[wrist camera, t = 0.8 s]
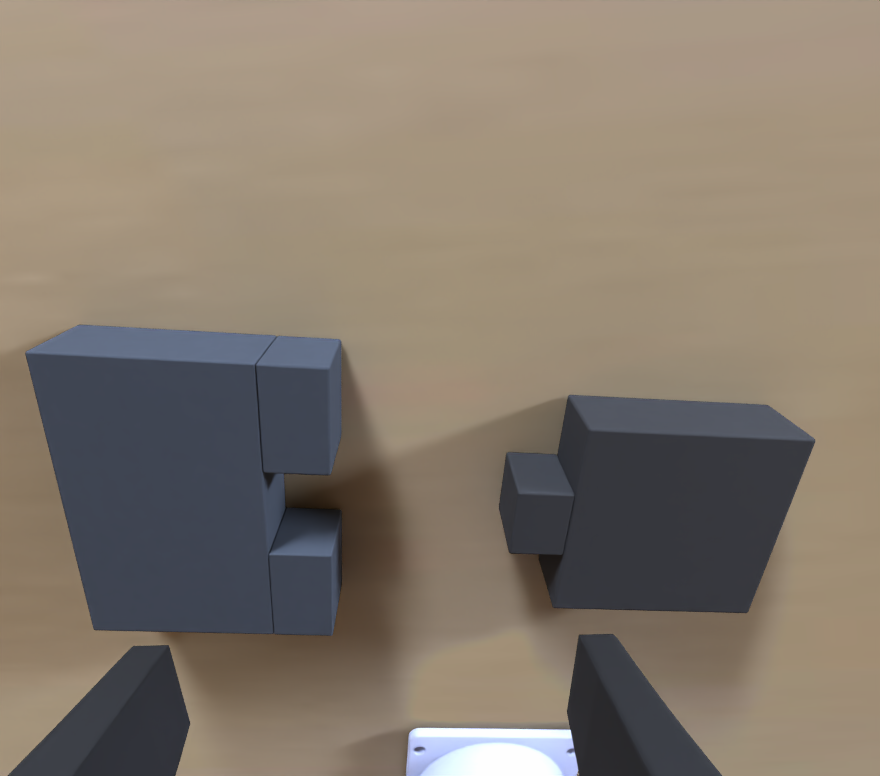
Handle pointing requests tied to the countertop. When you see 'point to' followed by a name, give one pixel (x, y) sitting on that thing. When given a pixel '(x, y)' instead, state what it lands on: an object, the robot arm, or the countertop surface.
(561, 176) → the countertop surface
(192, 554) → the grey pad
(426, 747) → the robot arm
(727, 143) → the countertop surface
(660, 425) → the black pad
